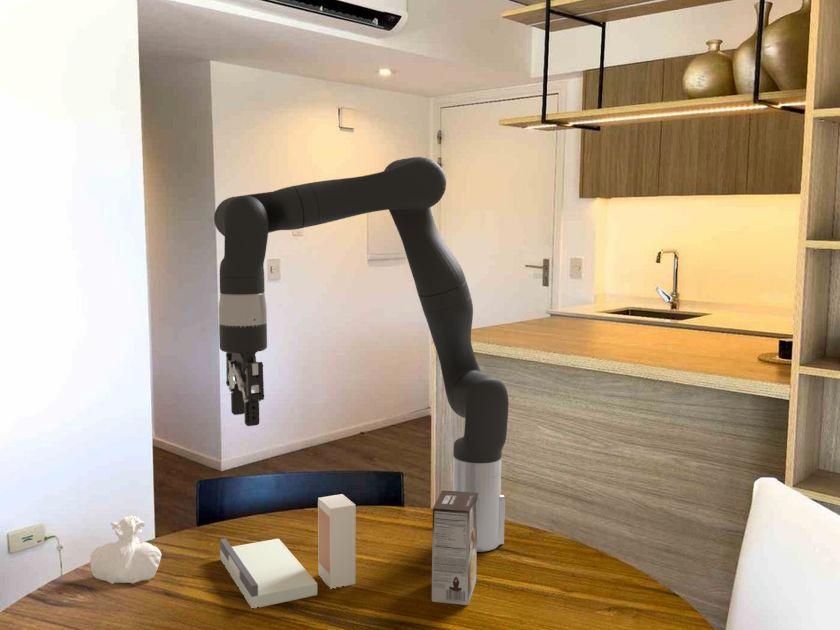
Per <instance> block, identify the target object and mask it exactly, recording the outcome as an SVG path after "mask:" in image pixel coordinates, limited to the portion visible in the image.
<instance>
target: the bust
mask: <svg viewBox="0 0 840 630" xmlns="http://www.w3.org/2000/svg"><path fill="white" fill-rule="evenodd" d="M110 525H111V526H112V530H115V532H114V533H115V535H116V536H117V538H118V540H117V541H115V542H109V543H105V544H104V545H102V546H97V547H96V548H95V549H94V550H93V551H92V552H90V553H91V554H90V558H89V563H90V570H91V573H92V575H93V577H94V578H95V579H96V580H100V581H103V582H104V581H106V582H107V583H110V584H127V583H129V584H137V583H138V582H141V581H146V580H150V579H153V578H154V577H155V575H156V573H157V571H158V568H159V565H160V562H161V559H162V552H161V550H160V549H159V548H158V547H157V546H155V545H152V544H151V543H149V542H146V541H143V542H140V539H139V537H138V535H137V534H140V535H141V534H143V527H145V526H146V522H145V521H143V520H141V519H140V518H139V517H138V516H135V515H132V514H130V515H127V516H124V517H122V518H121V519H120V518H119V520H115V522H114V521H112V522H110Z"/></svg>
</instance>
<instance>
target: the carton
mask: <svg viewBox="0 0 840 630" xmlns="http://www.w3.org/2000/svg"><path fill="white" fill-rule="evenodd" d="M356 507H357V505H356V504H355V503H354V502H353V501H351V500H350V499H349V498H348V497H347V496H345V495H344V494H343V493H341V494H334V495H328V496H322V497H318V498H317V531H318V532H317V536H318V537H317V541H318V542H317V545H318V546H317V549H318V550H317V552H318V553H317V554H318V555H317V561H318V562H317V563H318V566H317V567H318V573H317V574H318V577H319V576H320V577H321V578H322V579H321V578H320V577H319V578H320V579H321V580H322V582H324V584H326V586H327V585H328V586H329V587H330V588H329V587H328V586H327V587H328V588H329V589H330V590H333V589H332V588H334V589H337V588H336V587H339V588H343V587H342V586H344V587H348V586H352V585H353V586H354V585H356V548H357V547H356V538H357V537H356V535H357V534H356V532H357V531H356V530H357V529H356V519H357V518H356V510H357V509H356Z"/></svg>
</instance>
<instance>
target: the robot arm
mask: <svg viewBox="0 0 840 630" xmlns="http://www.w3.org/2000/svg"><path fill="white" fill-rule="evenodd" d="M446 188H447V177H446V174H445V172H444V170H443V169H442V167H441V166H440V164H438V163H437V162H436V161H434V160H432V159H431V158H428V157H423V156H415V157H406V158H401V159H396V160H394V161H392V162H391V163H390V162H389V164H388V165H387V166H386V167H385V168H384V170H383V171H380V172H376V173H372V174H367V175H361V176H354V177H346V178H337V179H328V180H327V179H326V180H320V181H313V182H307V183H303V184H296V185H291V186H287V187H283V188H280V189H277V190H273V191H267V192H259V193H252V194H244V195H237V196H232V197H228V198H225V199H224V200H222V201H221V202H220V203H219V204H218V206H216V209H215V211H214V215H213V217H214V218H213V222H214V225H215V227H216V229H217V231H218V232H219V233H220V234H221V235H222V236H223V237H224V246H223V247H224V254H223V258H222V260H221V261H220V264H219V302H218V332H219V333H218V335H219V336H218V337H219V349H220V351H222V352H223V353H225V358H226V362H225V365H226V382H225V384H226V386H227V387H228V390H229V392H230V403H231V406H230V408H231V409H230V411H231V413H232V414H233V416H234V415H235V416H238V415H243V416H244V424H245V426H247V427H253V426H259V424H260V402H261V401H263V400H265V392H264V391H265V388H264V386H265V385H264V364H263V362H262V361H257V356H256V353H258V352H263V351H265V350H266V349H267V348H268V323H267V322H268V320H267V316H268V315H267V313H268V312H267V302H266V294H265V268H264V265H265V264H264V263H265V259H266V253H267V246H268V239H269V238H268V237H269V233H274V232H278V231H292V230H294V231H295V230H299V229H304V228H309V227H314V226H318V225H319V226H320V225H323V224H327V223H331V222H332V223H333V222H335V221H339V220H344V219H348V218H351V217H355V216H360V215H364V214H370V213H374V212H375V213H376V212H380V211H386V210H387V211H389V214H390V216H391V218H392V220H393V222H394V225H395V227H396V229H397V232H398V235H399V237H400V239H401V242H402V245H403V246H402V247H404V252H405V255H406V258H407V262H408V265H409V268H410V271H411V275H412V278H413V281H414V285H415V289H416V292H417V296H418V298H419V301H420V305H421V309H422V312H423V314H424V317H425V320H426V322H427V325H428V329H429V331H430V332H429V333H430V334H431V335H430V336H431V338H432V342H433V344H434V348H435V350H436V354H437V355H438V360H439V365H440V369H441V375H442V380H443V385H444V390H445V395H446V398H447V399H446V400H447V402H448V404H449V407H450V408H451V409H452V411H453V413H455V414H456V415H458V416H459V417H461V418H463V419H464V432H463V436H462V437H459V438H457V439H456V440H455V441H454V443H453V449H452V450H453V458H452V459H453V461H452V462H453V463H452V491H459V492H474V493H478V501H477V552H478V553H479V552H480V553H481V552H488V551H493V550H495V549H497V548H498V547H499V546H501V545H504V543H505V512H506V510H505V508H506V507H505V506H506V498H505V497H506V496H505V495H504V494H502V493H501V492H502V456H503V455H502V453H503V448H504V446H505V444H506V440H507V434H508V433H507V432H508V421H509V403H510V402H509V401H510V400H509V394H508V390H507V387H506V386H505V384H504V383H503V382H502V381H501V380H500V379H498V378H497V377H495V376H492V375H488V374H485V373H483V372H482V371H481V368H480V366H479V365H478V362H477V358H476V356H475V353H474V348H473V345H472V337H471V336H472V326H473V316H474V305H473V304H474V303H473V301H472V296H471V292H470V288H469V286H468V282H467V280H466V276H465V273H464V270H463V268H462V266H461V264H460V263H459V261H458V260H457V258H456V257H455V255H454V253H453V252H452V251H451V249H450V247H449V246H448V245H447V244H446V242H445V241H444V239H443V237H442V235H441V234H440V232H439V230H438V228H437V225H436V222H435V219H434V216H433V212H432V210H431V209H432V207H434V206H435V205H436V204H438V203H439V202H440V200H441V199H443V196H444V195H445V191H446ZM252 391H254V392H252Z"/></svg>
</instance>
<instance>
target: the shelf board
mask: <svg viewBox="0 0 840 630" xmlns="http://www.w3.org/2000/svg"><path fill="white" fill-rule="evenodd" d="M219 543H220V545H219V547H220V548H219V551H220V553H219V554H220V556H219V557H220V561H221V562H222V565H225V566H224V567H225V569H226V570H227V572H228V574H229V573H230V574H229V575H230V577H231V578H232V580H233V581H234V583H235V584H236V586H237V588H238V587H239V588H238V589H239V590H240V593H241V594H242V596H243V595H244V596H243V597H244V598H245V600H246V602H247V604H248V605H249V607H250V606H251V607H250V608H251V609H252V608H254V609H258V608H257V607H259V608H264V607H267V606H272V605H277V604H282V603H285V602H292V601H295V600H299V599H300V600H301V599H305V598H310V597H314V596H318V582H317V581H316V580H315V579H314V578H313V576H311V574H310V573H309V572H308V571H307V570H306V568H305V567H304V566H303V565H302V563H300V562H299V560H298V559H297V558H296V557H295V556H294V554H293V553H292V552H291V551H290V550H289V549H288V547H287V546H286V545H285V544H284V542H283V541H282V540H280V538H274V539H273V538H272V539H268V540H262V541H257V542H251V543H246V544H238V545H233V546H232V545H231V544H230V543H229V541H228V539H227V538H221V539H219Z"/></svg>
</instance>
